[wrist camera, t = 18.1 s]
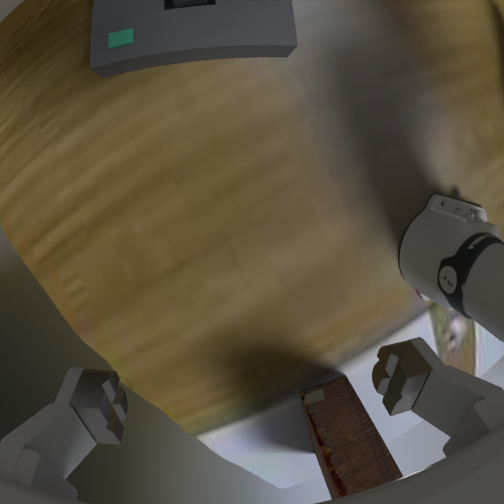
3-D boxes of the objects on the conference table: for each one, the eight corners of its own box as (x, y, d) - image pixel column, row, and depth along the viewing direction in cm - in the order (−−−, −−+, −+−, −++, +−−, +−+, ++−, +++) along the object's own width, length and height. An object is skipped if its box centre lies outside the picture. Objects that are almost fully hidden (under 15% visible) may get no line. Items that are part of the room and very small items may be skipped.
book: (350, 440, 60) (396, 537, 32) (314, 453, 59) (351, 555, 31) (345, 374, 51) (419, 504, 23) (298, 390, 51) (353, 534, 23)
